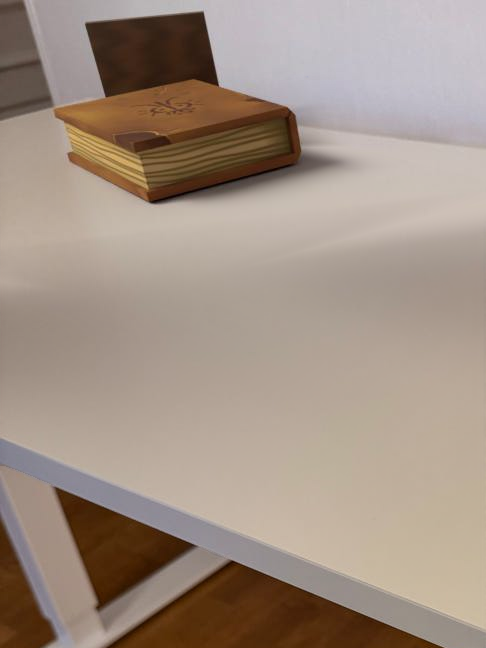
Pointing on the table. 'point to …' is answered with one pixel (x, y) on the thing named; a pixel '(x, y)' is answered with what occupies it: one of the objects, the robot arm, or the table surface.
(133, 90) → the bookend
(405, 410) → the table surface
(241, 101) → the diary
